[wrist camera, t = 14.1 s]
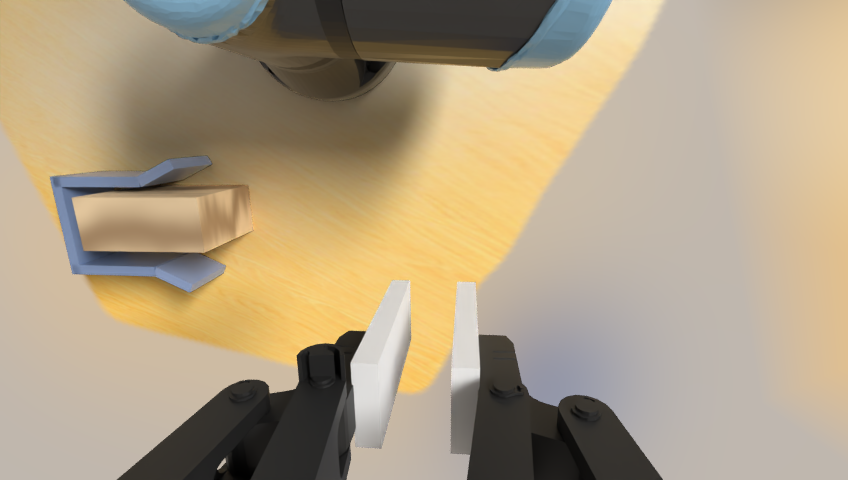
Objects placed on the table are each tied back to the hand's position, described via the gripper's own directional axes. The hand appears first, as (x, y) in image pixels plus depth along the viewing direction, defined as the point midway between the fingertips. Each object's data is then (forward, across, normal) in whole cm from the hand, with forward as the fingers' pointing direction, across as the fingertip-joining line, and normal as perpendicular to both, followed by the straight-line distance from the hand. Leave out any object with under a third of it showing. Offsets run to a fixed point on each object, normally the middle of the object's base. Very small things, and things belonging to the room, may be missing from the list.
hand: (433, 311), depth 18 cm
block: (+27, -28, 0) cm, 39 cm away
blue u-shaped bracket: (+26, -32, -2) cm, 42 cm away
